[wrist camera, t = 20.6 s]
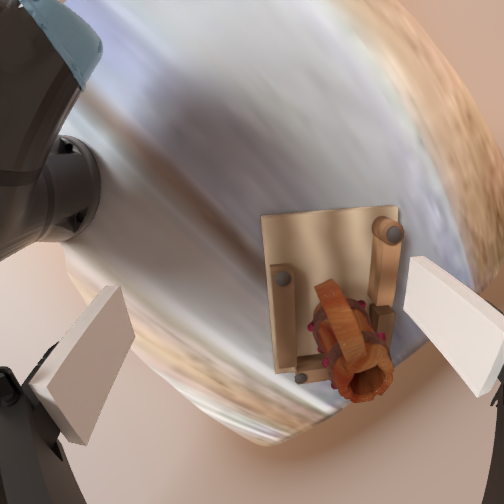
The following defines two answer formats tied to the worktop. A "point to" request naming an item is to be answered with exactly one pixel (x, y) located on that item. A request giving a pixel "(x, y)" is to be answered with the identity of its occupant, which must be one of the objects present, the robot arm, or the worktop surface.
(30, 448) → the robot arm
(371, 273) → the leg
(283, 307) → the seat
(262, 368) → the worktop surface
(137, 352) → the worktop surface
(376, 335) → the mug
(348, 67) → the worktop surface
